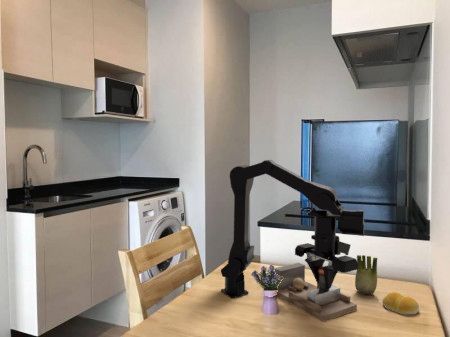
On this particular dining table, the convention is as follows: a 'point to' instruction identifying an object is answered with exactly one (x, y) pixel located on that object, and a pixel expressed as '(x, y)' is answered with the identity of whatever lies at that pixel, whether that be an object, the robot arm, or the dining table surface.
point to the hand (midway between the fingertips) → (324, 286)
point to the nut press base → (300, 296)
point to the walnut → (298, 283)
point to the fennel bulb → (366, 275)
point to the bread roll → (400, 303)
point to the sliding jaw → (323, 291)
